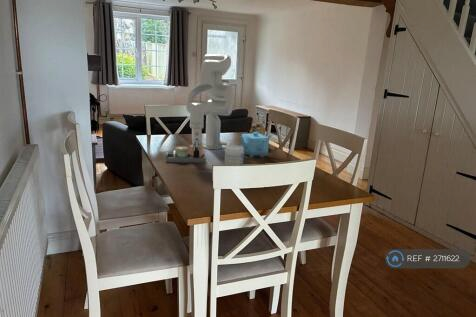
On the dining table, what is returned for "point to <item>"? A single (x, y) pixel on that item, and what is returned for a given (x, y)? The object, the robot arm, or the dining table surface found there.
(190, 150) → the terracotta jar
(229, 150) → the supplement tub
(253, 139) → the teakettle
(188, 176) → the dining table surface
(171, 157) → the tray
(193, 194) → the dining table surface
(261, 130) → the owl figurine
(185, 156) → the sage jar
